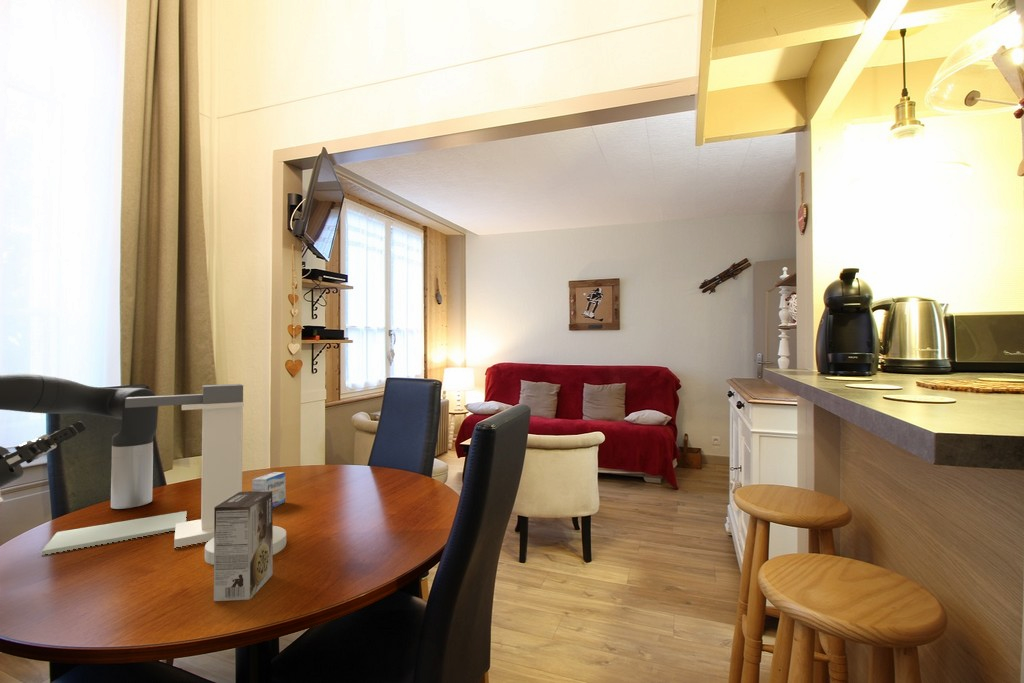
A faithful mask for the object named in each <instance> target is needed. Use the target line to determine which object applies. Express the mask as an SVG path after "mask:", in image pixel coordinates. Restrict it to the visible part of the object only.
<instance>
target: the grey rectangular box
mask: <svg viewBox="0 0 1024 683" xmlns="http://www.w3.org/2000/svg"><path fill="white" fill-rule="evenodd" d="M272 492H273V491H267V492H261V491H253V490H252V491H242V492H238V493H237V494H235V495H234V496H232V497H230V498H229V499H227V500H226V501H224V502H222V503H221V504H219V505H217V506H216V507H214V565H213V601H214V602H226V601H247V600H248V601H249V600H251V599H252V598H253V597H255V595H256V594H257V593H258V592H259V590H261V588H262V587H263V586H264V585H265V584H266V583H267V581H269V579H270V578H272V576H273V573H274V572H273V571H274V568H273V563H274V561H273V559H274V558H273V526H274V525H273V524H274V523H273V522H274V521H273V517H274V516H273V511H274V510H273V509H274V508H273V505H272Z"/></svg>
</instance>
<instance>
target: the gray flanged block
mask: <svg viewBox="0 0 1024 683" xmlns="http://www.w3.org/2000/svg"><path fill="white" fill-rule="evenodd" d="M233 402H243V403H244V385H243V384H241V383H229V384H228V383H227V384H204V385H203V384H202V393H198V394H194V393H193V394H176V395H175V394H171V395H156V396H147V397H127V398H126V399H125V408H132V407H150V406H158V407H165V406H179V405H180V406H182V405H186V404H215V403H233Z"/></svg>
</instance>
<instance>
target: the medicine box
mask: <svg viewBox="0 0 1024 683" xmlns="http://www.w3.org/2000/svg"><path fill="white" fill-rule="evenodd" d="M252 491H261V492H267V491H273V492H272V505H273V507H274V508H277V506H281V505H282V503H283V504H285V503H286V472H284V471H282V472H280V471H273V472H270V473H267V474H264V475H261V476H258V477H256V478H252ZM284 502H285V503H284Z"/></svg>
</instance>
